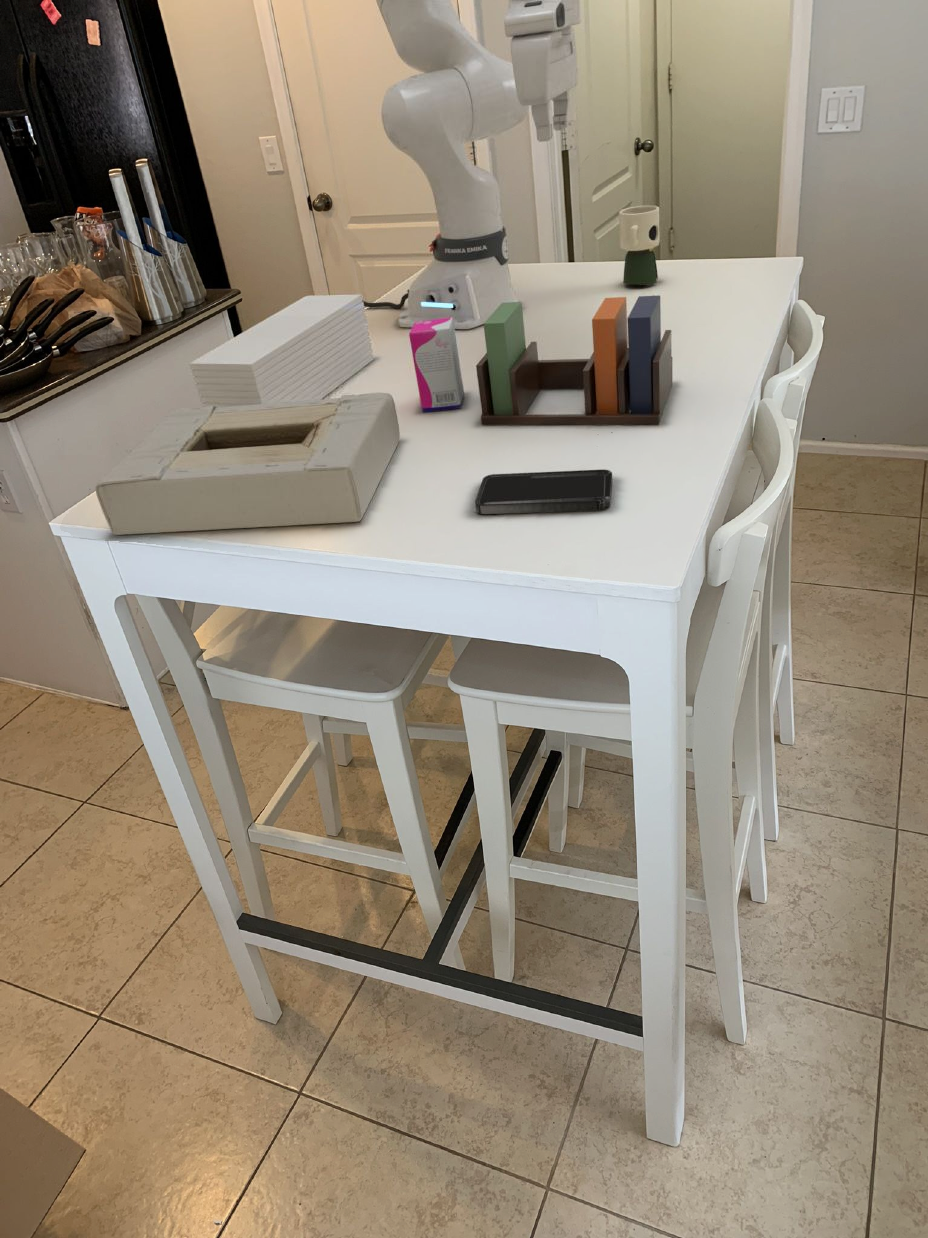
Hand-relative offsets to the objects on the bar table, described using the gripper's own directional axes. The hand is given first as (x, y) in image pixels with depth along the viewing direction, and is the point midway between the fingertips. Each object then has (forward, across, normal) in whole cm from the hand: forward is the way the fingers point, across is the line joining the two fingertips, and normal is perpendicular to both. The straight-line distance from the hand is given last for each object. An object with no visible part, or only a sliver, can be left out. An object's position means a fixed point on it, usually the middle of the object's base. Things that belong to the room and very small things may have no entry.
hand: (553, 134), depth 122 cm
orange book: (+31, +18, +10) cm, 37 cm away
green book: (+31, +18, -4) cm, 36 cm away
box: (+31, +44, -30) cm, 62 cm away
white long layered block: (+31, +13, -41) cm, 53 cm away
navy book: (+31, +18, +14) cm, 39 cm away
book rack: (+31, +18, +5) cm, 36 cm away
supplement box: (+31, +17, -15) cm, 39 cm away
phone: (+31, +45, +7) cm, 55 cm away
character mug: (+31, -40, +5) cm, 51 cm away
